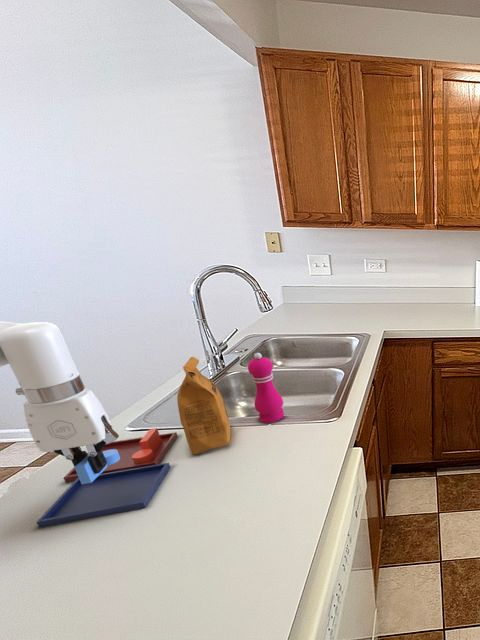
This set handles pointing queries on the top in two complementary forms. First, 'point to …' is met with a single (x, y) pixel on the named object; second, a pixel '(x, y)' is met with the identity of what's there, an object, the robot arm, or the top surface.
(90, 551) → the top surface
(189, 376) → the coffee package
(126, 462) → the maroon tray
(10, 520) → the top surface
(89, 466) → the blue spoon
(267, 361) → the pepper mill
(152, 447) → the coral spoon
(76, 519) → the navy tray
